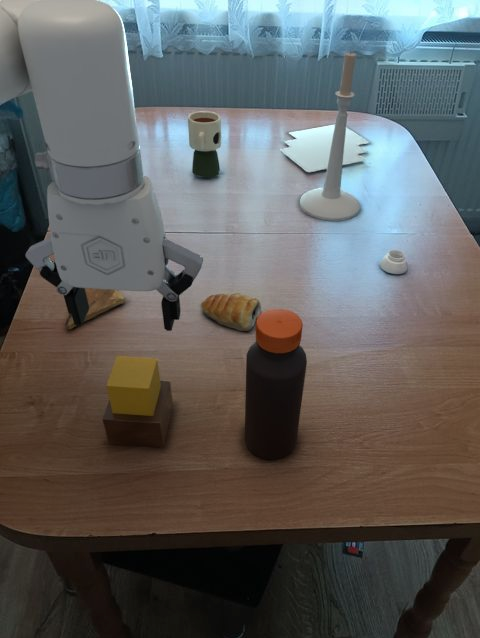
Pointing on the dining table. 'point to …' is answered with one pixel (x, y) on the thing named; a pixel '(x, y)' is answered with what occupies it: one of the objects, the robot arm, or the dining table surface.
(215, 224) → the dining table surface
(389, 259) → the white jar
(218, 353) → the dining table surface
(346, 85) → the candlestick
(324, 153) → the paper stack
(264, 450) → the bottle
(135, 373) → the mustard block
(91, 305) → the toasted sandwich
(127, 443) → the walnut block
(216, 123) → the character mug
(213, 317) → the pastry
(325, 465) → the dining table surface
